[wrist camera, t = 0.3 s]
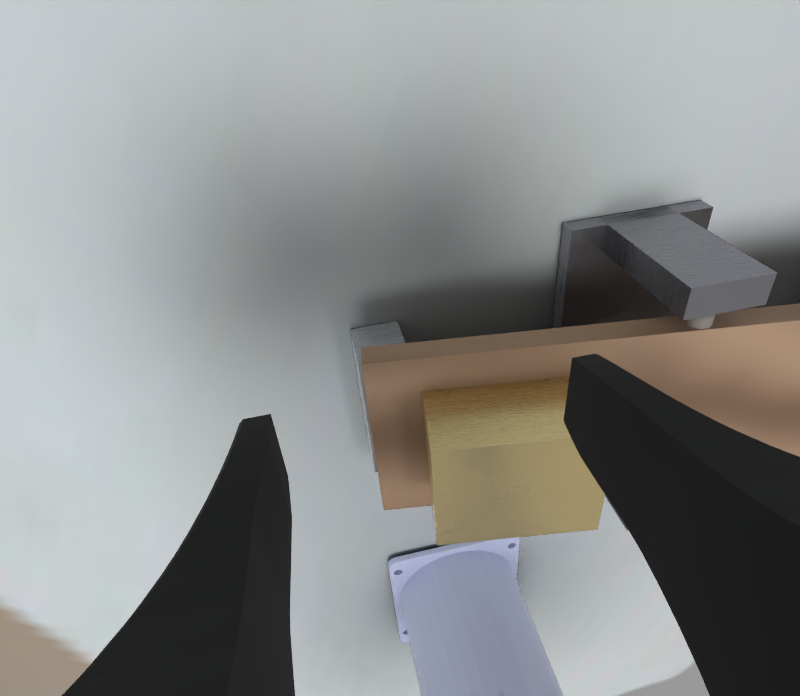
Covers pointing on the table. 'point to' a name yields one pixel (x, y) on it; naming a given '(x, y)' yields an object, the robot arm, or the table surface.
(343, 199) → the table surface
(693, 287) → the stand
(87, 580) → the table surface
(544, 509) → the block
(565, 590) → the table surface
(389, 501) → the beam
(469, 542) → the robot arm
